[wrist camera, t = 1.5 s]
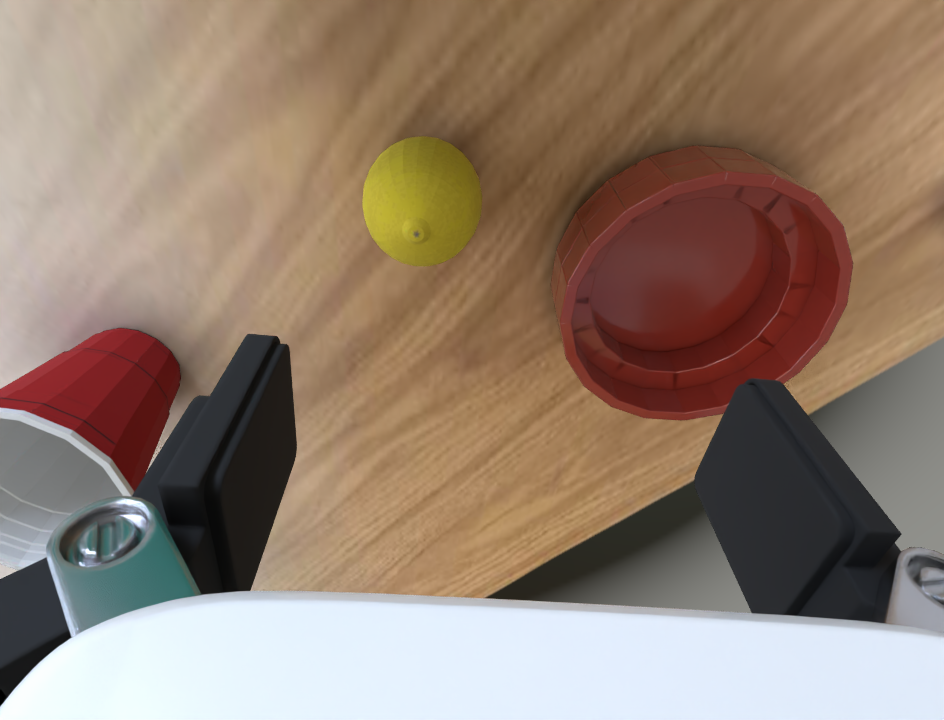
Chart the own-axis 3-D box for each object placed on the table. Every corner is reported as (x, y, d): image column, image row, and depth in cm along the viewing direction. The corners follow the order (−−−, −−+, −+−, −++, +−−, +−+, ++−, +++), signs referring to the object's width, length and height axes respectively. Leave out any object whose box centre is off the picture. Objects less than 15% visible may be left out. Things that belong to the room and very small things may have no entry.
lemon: (467, 235, 32) (464, 306, 25) (368, 211, 31) (340, 277, 24) (494, 135, 29) (499, 186, 22) (385, 105, 28) (358, 149, 21)
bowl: (763, 85, 27) (813, 106, 23) (828, 305, 34) (876, 352, 30) (506, 232, 32) (511, 272, 27) (610, 401, 38) (626, 453, 34)
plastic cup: (234, 323, 35) (139, 462, 25) (210, 442, 41) (126, 593, 31) (43, 261, 33) (-142, 388, 23) (47, 397, 38) (-100, 544, 29)
